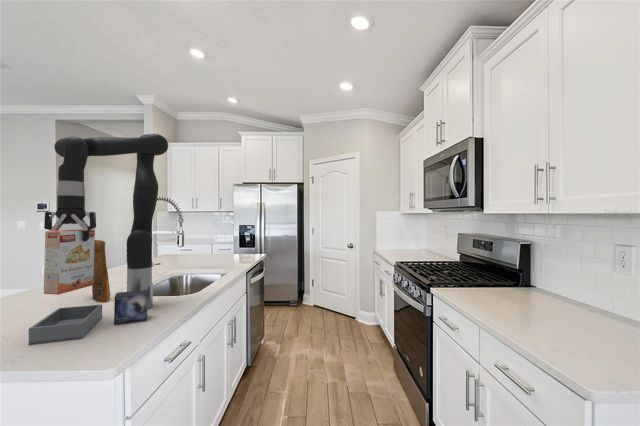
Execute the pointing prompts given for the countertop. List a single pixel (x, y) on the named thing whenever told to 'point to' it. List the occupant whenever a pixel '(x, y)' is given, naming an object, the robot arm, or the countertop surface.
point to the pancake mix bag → (100, 273)
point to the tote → (65, 324)
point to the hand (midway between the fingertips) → (70, 241)
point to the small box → (130, 307)
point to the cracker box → (68, 261)
